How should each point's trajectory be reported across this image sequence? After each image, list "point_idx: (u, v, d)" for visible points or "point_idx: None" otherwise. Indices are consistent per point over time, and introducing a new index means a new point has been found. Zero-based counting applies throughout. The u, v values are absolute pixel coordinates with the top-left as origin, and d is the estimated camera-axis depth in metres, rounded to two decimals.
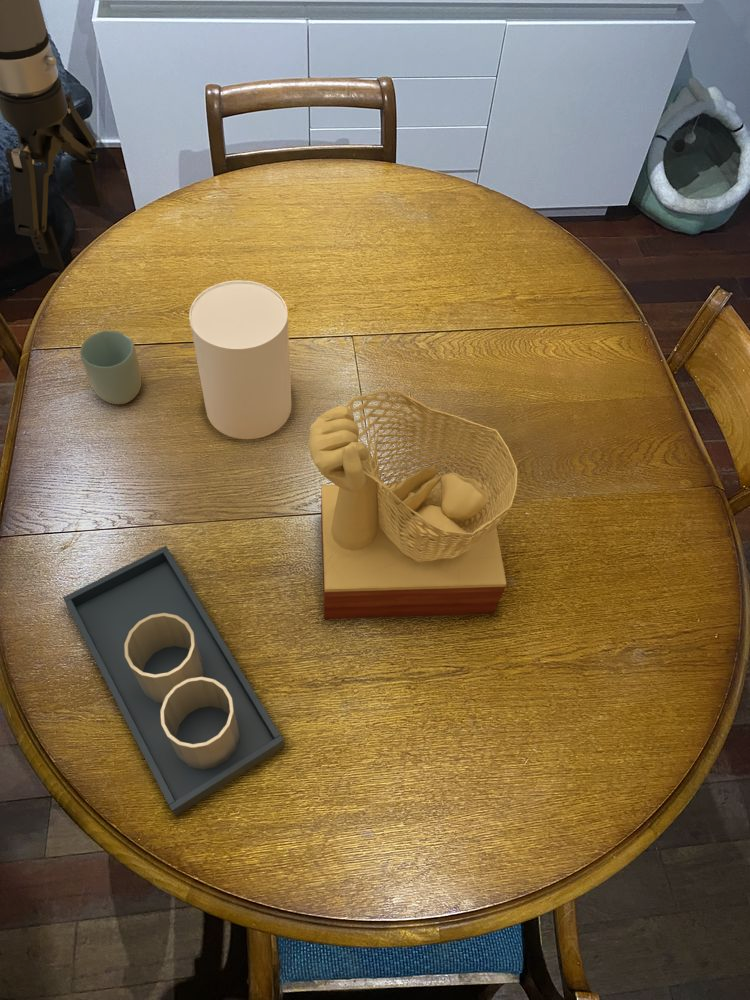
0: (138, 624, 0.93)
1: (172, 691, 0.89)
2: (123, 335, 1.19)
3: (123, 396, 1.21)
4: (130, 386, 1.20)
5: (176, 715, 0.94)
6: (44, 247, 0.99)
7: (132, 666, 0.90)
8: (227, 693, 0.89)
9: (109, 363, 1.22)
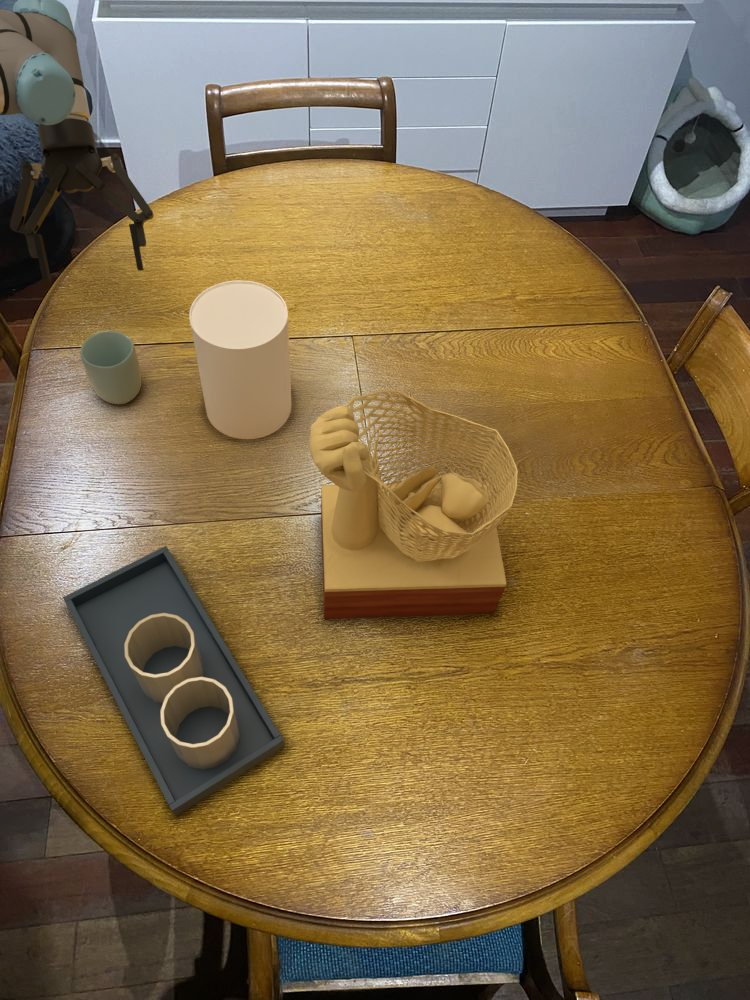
0: (138, 624, 0.93)
1: (172, 691, 0.89)
2: (123, 335, 1.19)
3: (123, 396, 1.21)
4: (130, 386, 1.20)
5: (176, 715, 0.94)
6: (29, 249, 1.15)
7: (132, 666, 0.90)
8: (227, 693, 0.89)
9: (109, 363, 1.22)
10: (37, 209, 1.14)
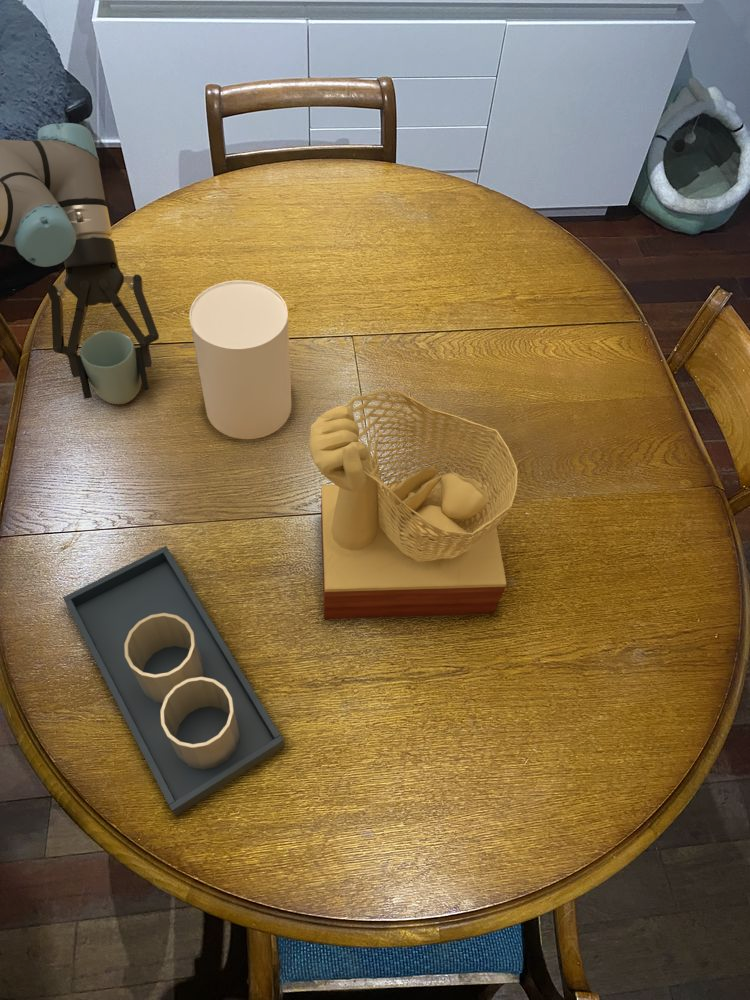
0: (138, 624, 0.93)
1: (172, 691, 0.89)
2: (123, 335, 1.19)
3: (123, 396, 1.21)
4: (130, 386, 1.20)
5: (176, 715, 0.94)
6: (71, 370, 1.18)
7: (132, 666, 0.90)
8: (227, 693, 0.89)
9: (109, 363, 1.22)
10: (73, 330, 1.16)
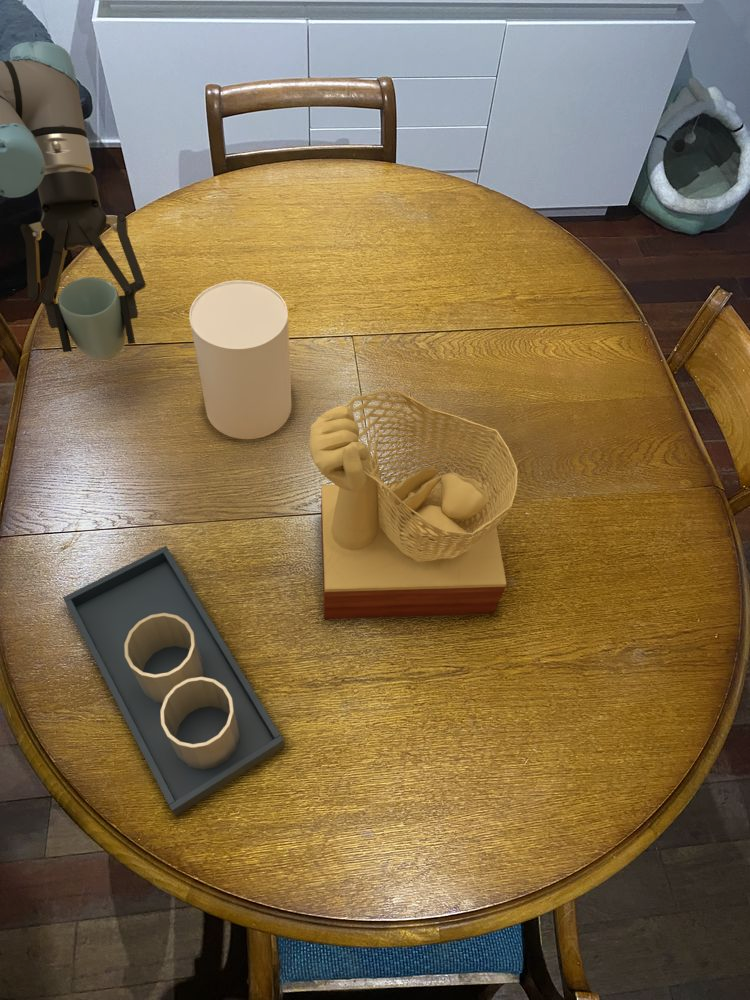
0: (138, 624, 0.93)
1: (172, 691, 0.89)
2: (106, 282, 1.08)
3: (107, 350, 1.10)
4: (114, 339, 1.09)
5: (176, 715, 0.94)
6: (48, 320, 1.07)
7: (132, 666, 0.90)
8: (227, 693, 0.89)
9: (91, 314, 1.11)
10: (50, 275, 1.05)
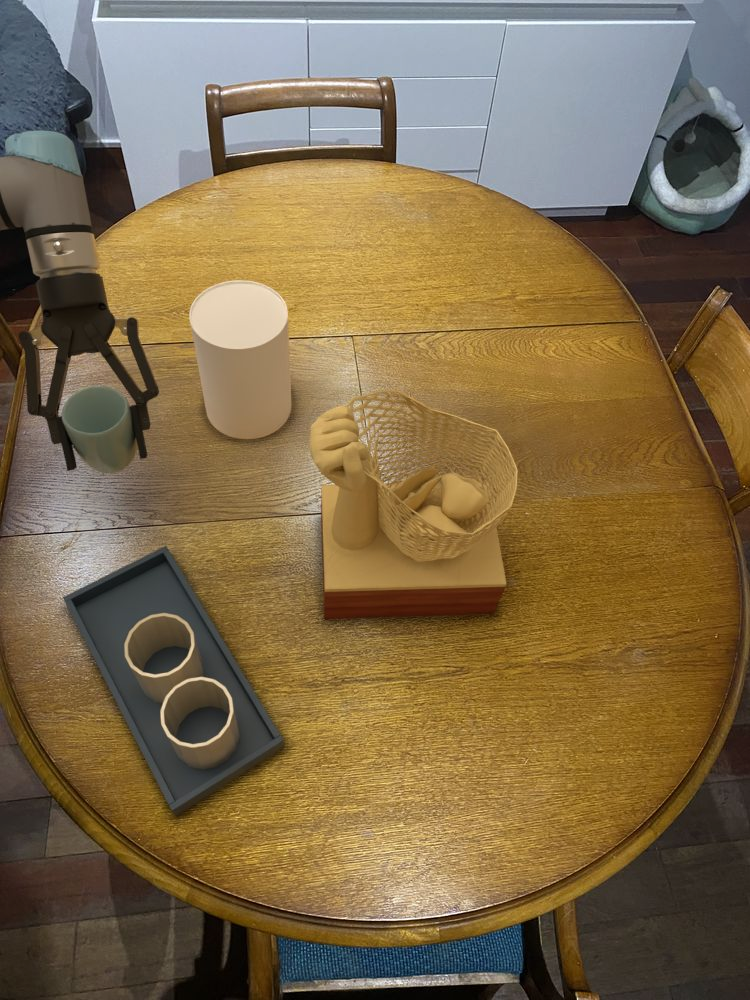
0: (138, 624, 0.93)
1: (172, 691, 0.89)
2: (115, 391, 0.96)
3: (116, 465, 0.98)
4: (124, 453, 0.98)
5: (176, 715, 0.94)
6: (51, 436, 0.95)
7: (132, 666, 0.90)
8: (227, 693, 0.89)
9: (98, 424, 0.99)
10: (53, 386, 0.94)
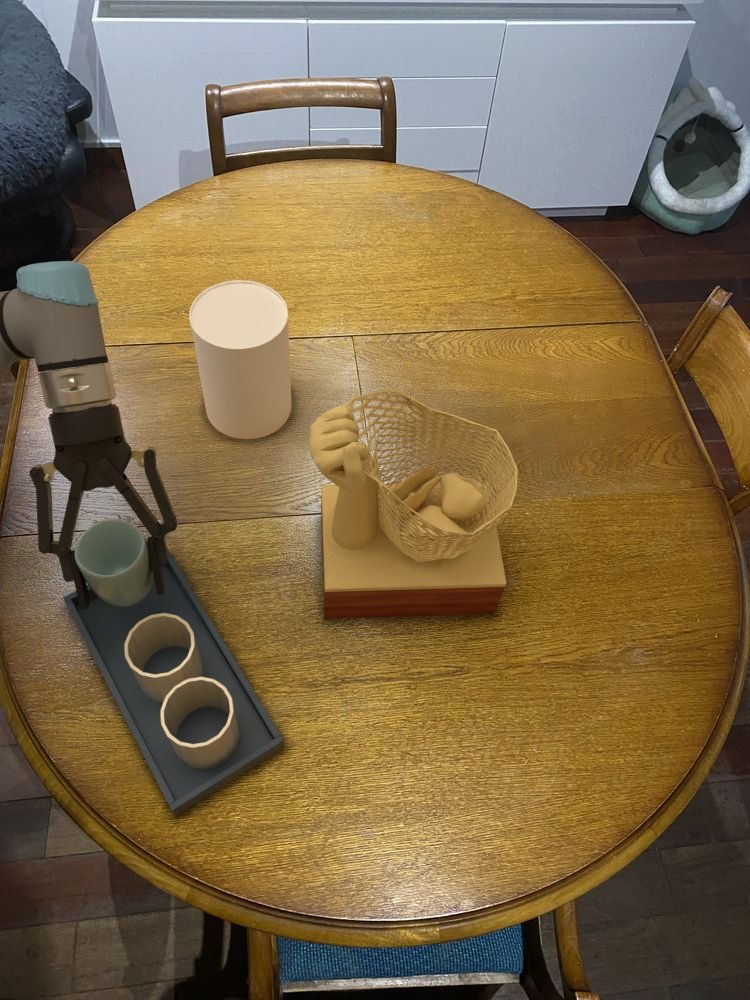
0: (138, 624, 0.93)
1: (172, 691, 0.89)
2: (131, 525, 0.91)
3: (131, 600, 0.93)
4: (140, 589, 0.92)
5: (176, 715, 0.94)
6: (63, 573, 0.90)
7: (132, 666, 0.90)
8: (227, 693, 0.89)
9: (113, 556, 0.94)
10: (65, 524, 0.88)
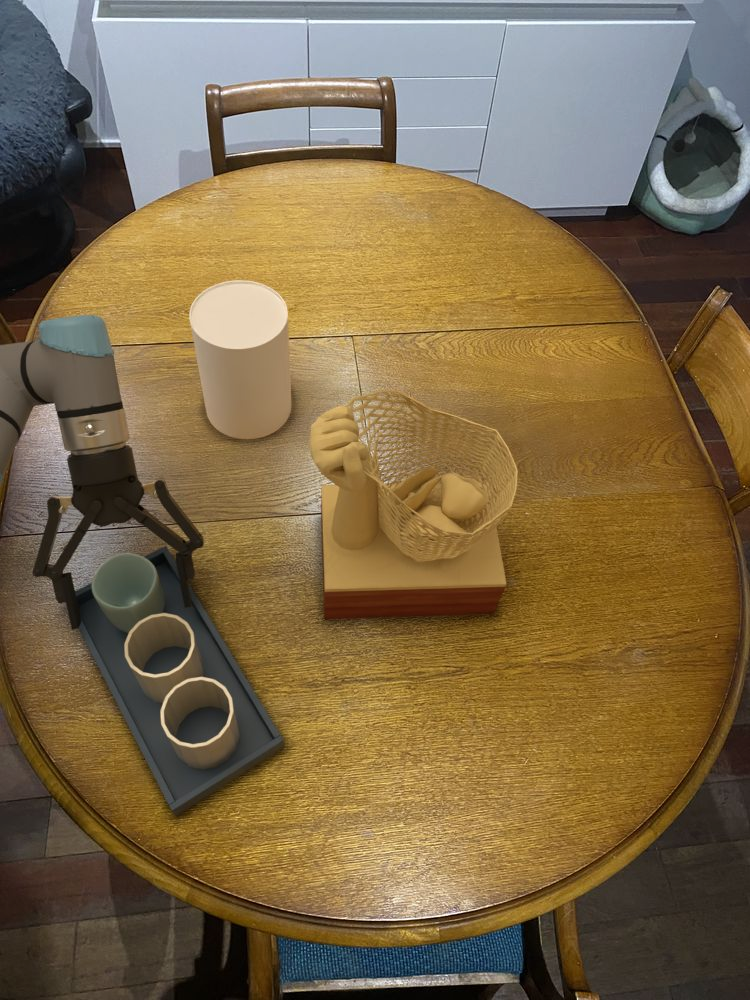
0: (138, 624, 0.93)
1: (172, 691, 0.89)
2: (144, 559, 0.97)
3: None
4: None
5: (176, 715, 0.94)
6: (56, 595, 0.95)
7: (132, 666, 0.90)
8: (227, 693, 0.89)
9: (126, 587, 1.00)
10: (66, 551, 0.94)
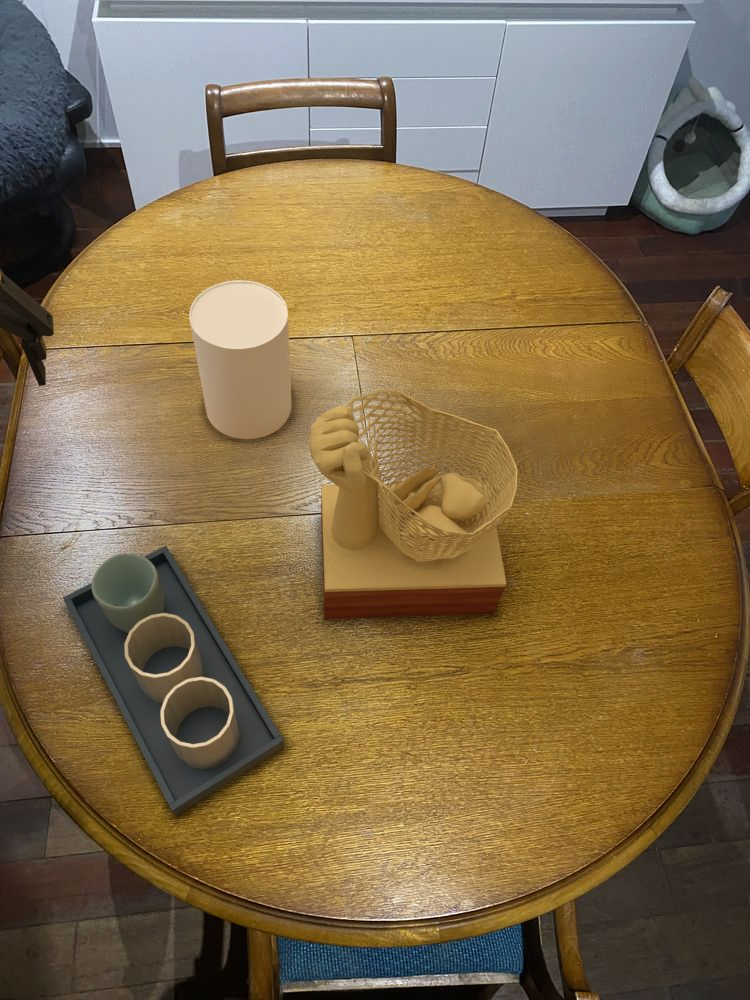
0: (138, 624, 0.93)
1: (172, 691, 0.89)
2: (144, 559, 0.97)
3: None
4: None
5: (176, 715, 0.94)
6: None
7: (132, 666, 0.90)
8: (227, 693, 0.89)
9: (126, 586, 1.00)
10: None
